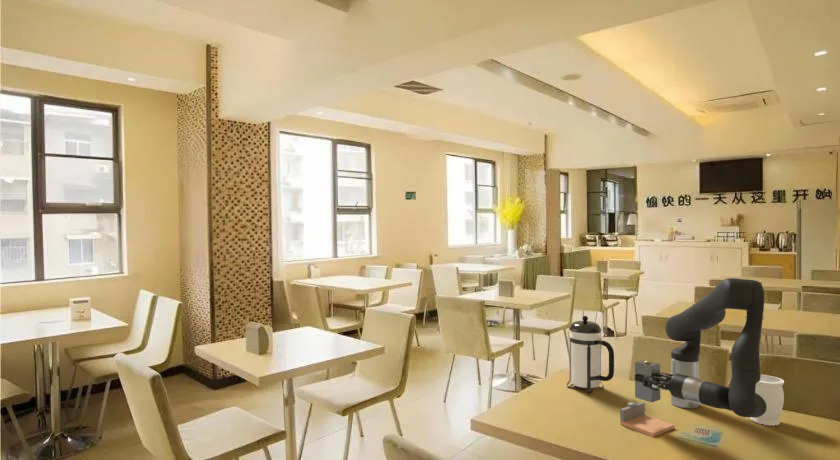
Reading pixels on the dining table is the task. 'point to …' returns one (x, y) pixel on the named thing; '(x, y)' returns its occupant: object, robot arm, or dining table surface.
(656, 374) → the block
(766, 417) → the jar
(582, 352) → the coffee press
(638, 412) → the dock
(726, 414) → the dining table surface
